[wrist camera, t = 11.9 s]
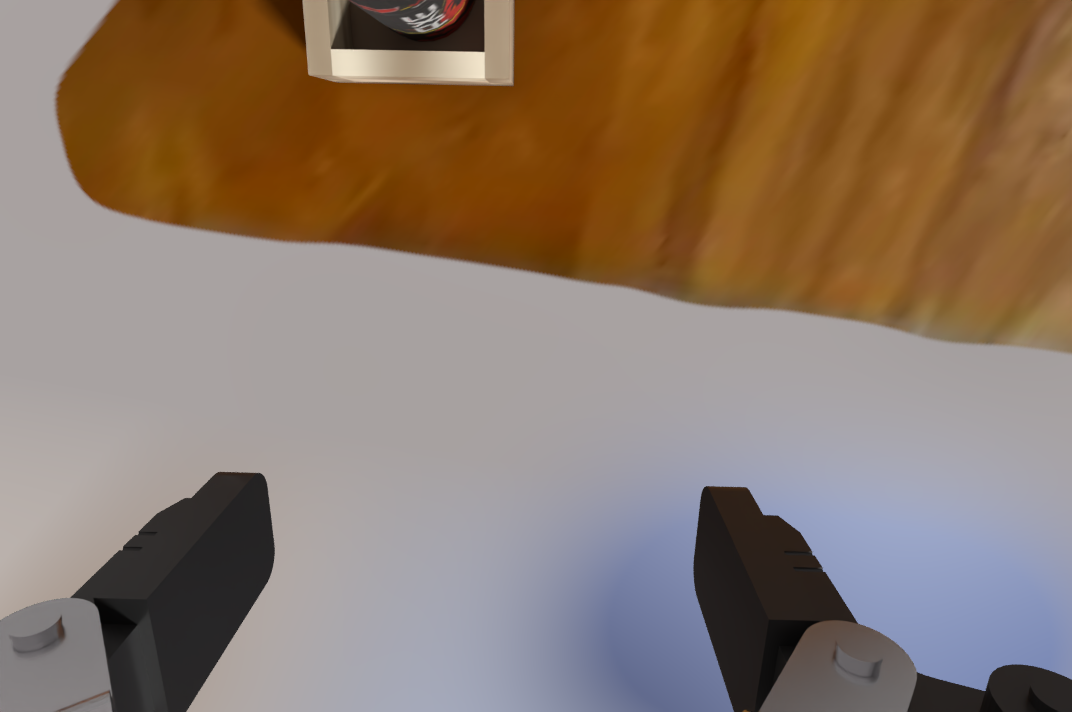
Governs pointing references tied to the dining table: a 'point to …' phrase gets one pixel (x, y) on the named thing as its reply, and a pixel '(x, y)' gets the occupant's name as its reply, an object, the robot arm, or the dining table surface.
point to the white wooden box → (409, 47)
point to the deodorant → (419, 16)
